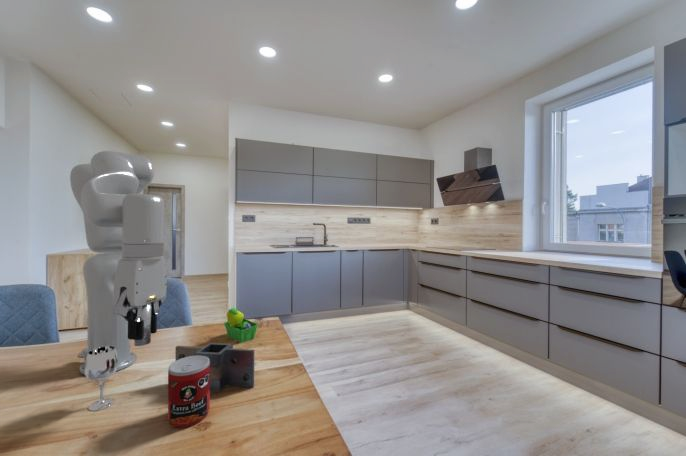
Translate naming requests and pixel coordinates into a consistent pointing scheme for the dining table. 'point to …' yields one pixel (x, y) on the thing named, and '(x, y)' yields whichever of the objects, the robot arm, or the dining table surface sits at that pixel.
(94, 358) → the wineglass
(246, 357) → the hinge leaf
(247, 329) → the fruit basket
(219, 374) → the hinge leaf
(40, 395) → the dining table surface
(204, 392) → the canned food
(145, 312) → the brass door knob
